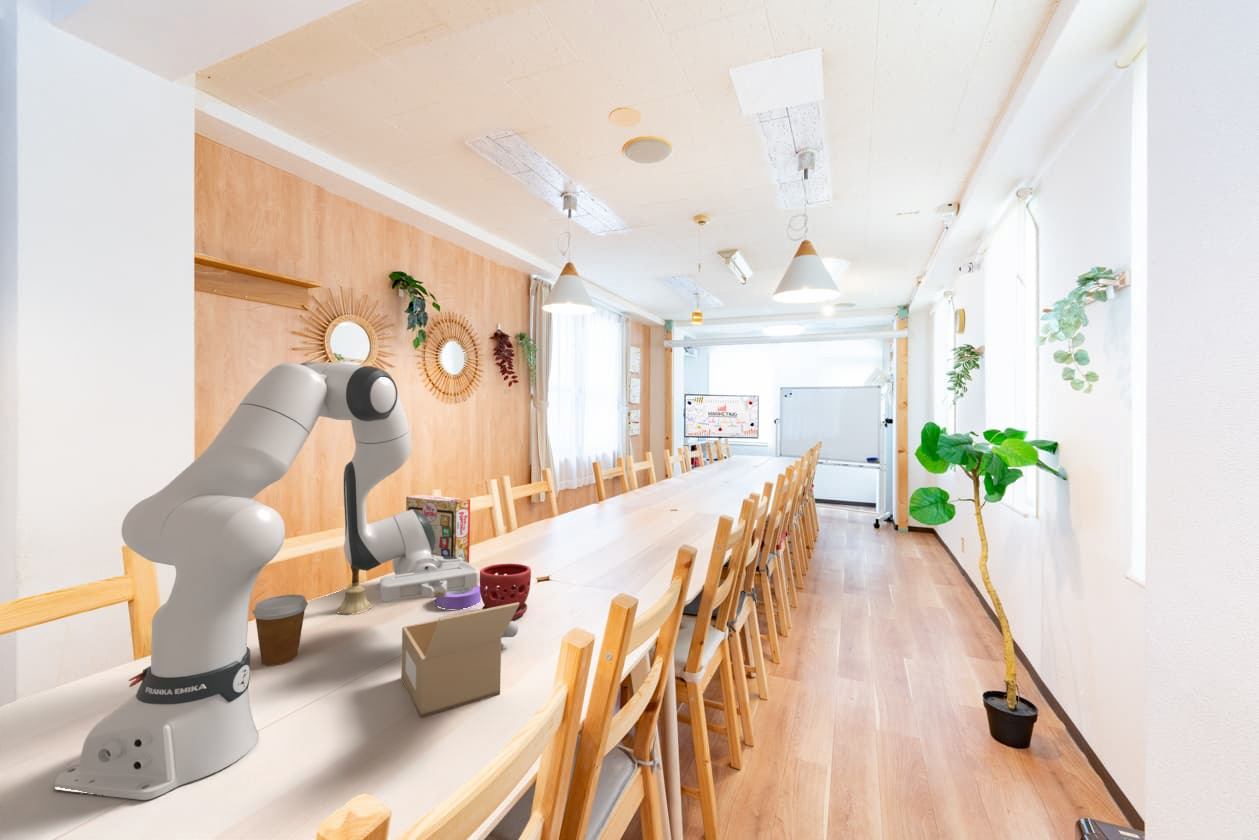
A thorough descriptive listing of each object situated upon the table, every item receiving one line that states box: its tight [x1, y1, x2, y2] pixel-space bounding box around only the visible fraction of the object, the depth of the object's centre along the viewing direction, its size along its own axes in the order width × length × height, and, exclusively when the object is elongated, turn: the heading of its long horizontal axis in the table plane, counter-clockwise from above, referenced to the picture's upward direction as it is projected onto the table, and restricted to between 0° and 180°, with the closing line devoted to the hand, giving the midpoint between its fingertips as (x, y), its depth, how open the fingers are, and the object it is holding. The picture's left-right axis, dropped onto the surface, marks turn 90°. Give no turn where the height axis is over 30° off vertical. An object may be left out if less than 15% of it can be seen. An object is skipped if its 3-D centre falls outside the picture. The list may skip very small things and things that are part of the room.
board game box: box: [405, 494, 471, 564], centre depth 154 cm, size 20×6×27 cm, turn 66°
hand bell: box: [336, 564, 372, 615], centre depth 135 cm, size 8×8×16 cm
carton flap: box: [425, 602, 519, 660], centre depth 87 cm, size 13×13×1 cm
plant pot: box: [479, 563, 532, 620], centre depth 133 cm, size 13×13×12 cm
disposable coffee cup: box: [252, 594, 309, 666], centre depth 106 cm, size 10×10×12 cm
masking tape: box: [435, 584, 482, 610], centre depth 141 cm, size 12×12×4 cm
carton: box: [400, 619, 502, 719], centre depth 97 cm, size 16×14×10 cm
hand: (439, 593), depth 104 cm, fingers closed
